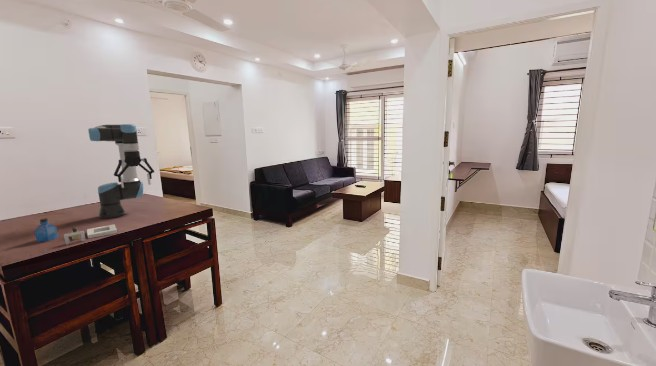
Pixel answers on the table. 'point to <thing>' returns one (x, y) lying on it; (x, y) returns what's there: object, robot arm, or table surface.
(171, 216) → the table surface
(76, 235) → the lock bar
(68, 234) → the keeper
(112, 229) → the socket
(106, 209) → the robot arm
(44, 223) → the perfume bottle
